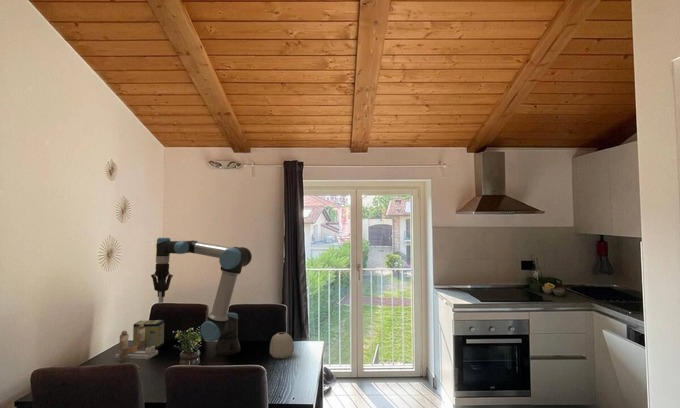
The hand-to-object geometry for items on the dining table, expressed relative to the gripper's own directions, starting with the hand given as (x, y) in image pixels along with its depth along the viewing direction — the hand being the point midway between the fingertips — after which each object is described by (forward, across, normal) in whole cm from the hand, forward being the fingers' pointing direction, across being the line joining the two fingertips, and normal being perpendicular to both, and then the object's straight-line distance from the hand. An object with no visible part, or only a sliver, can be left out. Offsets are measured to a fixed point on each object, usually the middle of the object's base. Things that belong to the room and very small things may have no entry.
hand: (160, 302), depth 233 cm
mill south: (+30, +13, -2) cm, 33 cm away
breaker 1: (+28, +13, +6) cm, 31 cm away
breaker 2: (+28, +2, +6) cm, 28 cm away
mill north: (+30, +13, +14) cm, 36 cm away
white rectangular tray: (+30, +10, +6) cm, 32 cm away
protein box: (+31, +14, -12) cm, 36 cm away
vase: (+29, -75, 0) cm, 80 cm away
